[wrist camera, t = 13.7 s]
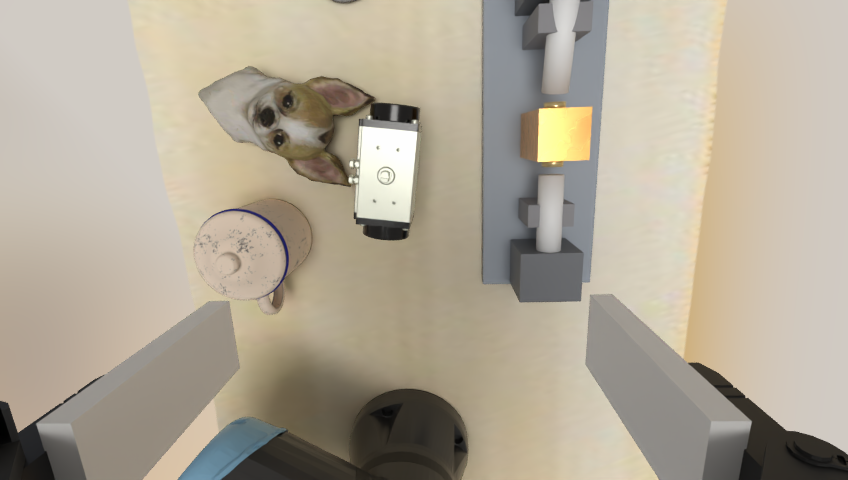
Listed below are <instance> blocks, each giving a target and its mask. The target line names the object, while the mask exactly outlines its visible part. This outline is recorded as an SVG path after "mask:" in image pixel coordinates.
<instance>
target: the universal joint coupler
mask: <svg viewBox="0 0 848 480" xmlns="http://www.w3.org/2000/svg"><path fill="white" fill-rule="evenodd" d="M592 108H593V107H570V108H566V101H557V102H546V103H543V109H537V110H533V111H530V112H527V113H523V114H521V140H520V158H524V159H528V160H532V161H536V162H542V163H541V167H563V164H564V161H577V160H589V157H590V141H591V124H592Z"/></svg>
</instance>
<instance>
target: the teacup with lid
mask: <svg viewBox="0 0 848 480" xmlns="http://www.w3.org/2000/svg"><path fill="white" fill-rule="evenodd" d="M311 243H312V235H311V229H310V226H309V224H308V222H307V220H306V218H305V217H304V215H303V214H302V213H301V212H300V211H299V210H298V209H297V208H296V207H294V206H293V205H291V204H289V203H287V202H285V201H282V200H277V199H265V200H261V201H258V202H255V203H252V204H249V205H246V206H243V207H241V208H238V209H229V210H224V211H221V212H219V213H217V214H215V215H213V216H211V217H210V218H209V219H208V220H207V221H206V222H205V223H204V224H203V225H202V227H201V228H200V230H199V231H198V233H197V236H196V239H195V243H194V259H195V263H196V266H197V269H198V271H199V273H200V275H201V276H202V278H203V279H204V280H205V281H206V283H207V284H208V285H209V286H210V287H211V288H213V289H214V290H215V291H217V292H218V293H220V294H222V295H224V296H226V297H229V298H233V299H237V300H254V299H257V302H258V305H259V307H260V309H261V310H262V312H263V313H265V314H267V315H273V314H276V313H278V312H279V311H280V310H281V308H282V306H283V303H284V298H285V286H284V281H283V280H284V278H285V277H286V276H287V275H289V274H290V273H291V272H292V271H293V270H294V269H295V268H296V267H297V266H299V265H300V264H301V263H302V262H303V261H304V260H305V258H306V257H307V255H308V253H309V251H310V248H311ZM273 291H274V296H273V301H272V304H271V301H270V298H269V294H270V293H272V292H273Z"/></svg>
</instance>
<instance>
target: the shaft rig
mask: <svg viewBox="0 0 848 480" xmlns="http://www.w3.org/2000/svg"><path fill="white" fill-rule="evenodd" d="M608 10H609V0H483V284H511V285H512V287H513V289H514V291H515V293H516V296H517V298H518V300H519V302H567V301H581V290H582V282H590V272H591V257H592V243H593V228H594V213H595V199H596V184H597V170H598V155H599V141H600V126H601V112H602V97H603V83H604V68H605V53H606V39H607V24H608ZM557 101H566V108H570V107H593V108H592V124H591V141H590V157H589V160H577V161H564V164H563V167H541V163H542V162H536V161H532V160H528V159H524V158H520V140H521V114H523V113H527V112H530V111H533V110H537V109H543V103H546V102H557Z"/></svg>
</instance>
